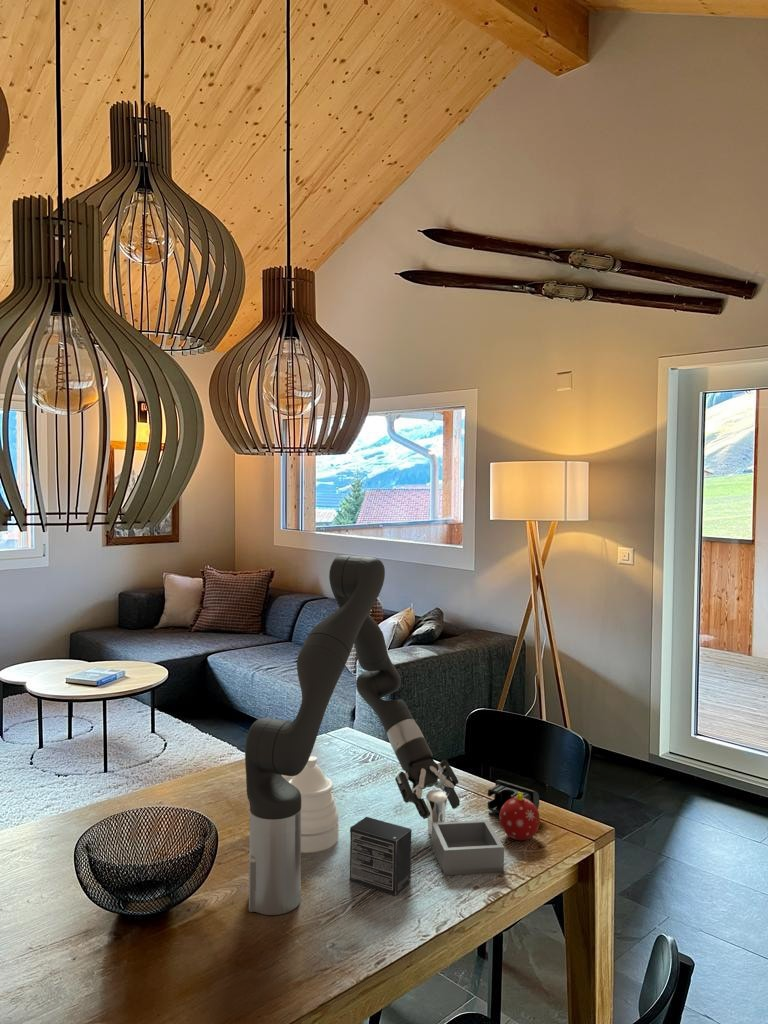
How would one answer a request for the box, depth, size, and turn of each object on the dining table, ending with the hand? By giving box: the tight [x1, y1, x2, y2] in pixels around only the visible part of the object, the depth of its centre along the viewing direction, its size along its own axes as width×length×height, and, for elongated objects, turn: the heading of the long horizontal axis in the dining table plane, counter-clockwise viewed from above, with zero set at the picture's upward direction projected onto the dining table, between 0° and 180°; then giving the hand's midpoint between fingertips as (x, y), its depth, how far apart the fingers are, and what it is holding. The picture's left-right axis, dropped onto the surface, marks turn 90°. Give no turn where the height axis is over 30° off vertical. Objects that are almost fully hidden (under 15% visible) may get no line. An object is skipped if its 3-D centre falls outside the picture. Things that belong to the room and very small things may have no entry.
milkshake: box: [425, 789, 451, 836], centre depth 167 cm, size 4×5×10 cm
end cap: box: [487, 779, 540, 819], centre depth 176 cm, size 10×7×7 cm
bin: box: [431, 819, 505, 876], centre depth 156 cm, size 12×12×5 cm
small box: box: [348, 816, 412, 896], centre depth 147 cm, size 11×6×10 cm, turn 59°
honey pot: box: [287, 755, 340, 854], centre depth 163 cm, size 13×13×18 cm
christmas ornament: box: [498, 792, 541, 841], centre depth 165 cm, size 9×9×10 cm
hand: (442, 812), depth 165 cm, fingers open, 8 cm apart
